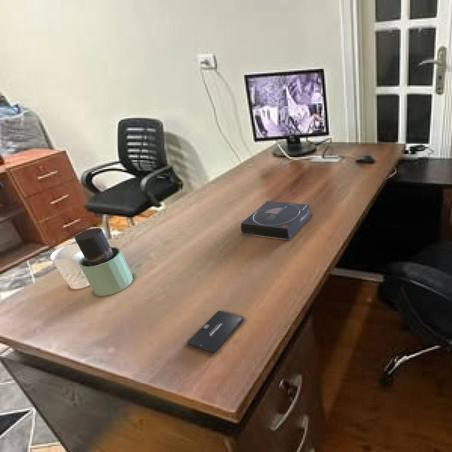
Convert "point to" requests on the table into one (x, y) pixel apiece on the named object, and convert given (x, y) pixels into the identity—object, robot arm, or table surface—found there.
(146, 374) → the table surface
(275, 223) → the portable cd player
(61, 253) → the white cup
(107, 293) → the pen holder
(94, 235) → the deodorant
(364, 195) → the table surface
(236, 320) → the solid state drive
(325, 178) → the table surface
